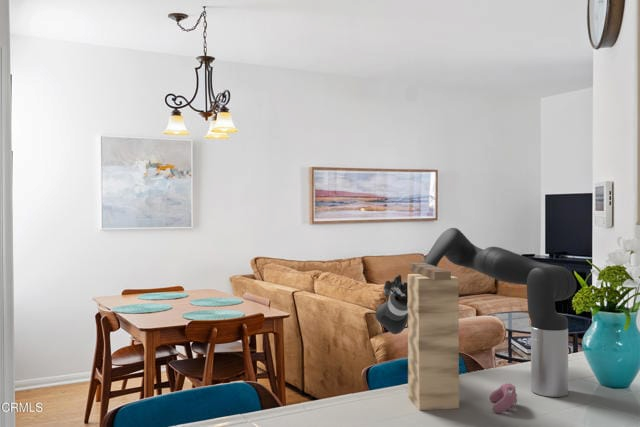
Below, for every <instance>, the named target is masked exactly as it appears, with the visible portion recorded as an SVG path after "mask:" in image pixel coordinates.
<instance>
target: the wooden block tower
mask: <svg viewBox="0 0 640 427" xmlns="http://www.w3.org/2000/svg"><path fill="white" fill-rule="evenodd" d="M407 283H408V303H407V307H408V322H407V388H408V389H407V390H408V392H407V394H408V396H407V397H408V399H409V400H410V401H411V403H413V405H414V406H415V407H416V408H417V409H418V410H419V411H427V410H428V411H430V410H431V411H433V410H449V409H450V410H451V409H460V366H459V365H460V364H459V363H460V362H459V361H460V351H459V349H460V342H459V341H460V340H459V339H460V338H459V337H460V334H459V333H460V332H459V331H460V330H459V327H460V325H459V324H460V322H459V320H460V318H459V317H460V316H459V313H460V308H459V307H460V306H459V298H460V297H459V294H460V293H459V277H457V276H453V275H451V280H433V279H431V278H428V277H426V276H423V275H420V274H415V273H408V274H407Z"/></svg>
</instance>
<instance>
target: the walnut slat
mask: <svg viewBox="0 0 640 427" xmlns="http://www.w3.org/2000/svg"><path fill="white" fill-rule="evenodd" d="M408 266H409V268H408V270H409V271H410V272H413V273H414V274H415V273H418V274H420V275H423V276H426V277H428V278H431V279H433V280H451V276H452V271H451V270H449V269H445V268H441V267H438V266H437V267H436V266H433V265H430V264H426V263H423V262H409V265H408Z"/></svg>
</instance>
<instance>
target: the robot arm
mask: <svg viewBox="0 0 640 427" xmlns="http://www.w3.org/2000/svg"><path fill="white" fill-rule="evenodd" d="M444 257H445V258H446V259H447V260H448V261H449V262H450V263H451V264H453V265H456V266H460V267H462V268H463V267H464V268H468V269H471V270H475V271H477V272H479V273H481V274H483V275H485V276H488V277H489V278H492V279H494V280H496V281H499V282H503V283H508V284H514V285H525V286H526V298H527V299H526V302H527V313H528V316H529V320H530V390H531V392H532V393H534V394H535V395H540V396H545V397H550V398H551V397H552V398H553V397H555V398H559V397H565V396H568V394H569V319H568V317H567V316H565V315H563V314H560V313H559V312H557V310H556V304H555V302H558V301H564V300H567V299H569V298H571V297H572V296H573V295H574V294H575V292H576V290H577V280H576V278H575V277H574V274H573V273H572V272H571V271H570V269H568V268H566V267H564V266H561V265H555V264H549V263H546V262H542V261H541V262H540V261H537V260H533V259H531V258H529V257H526V256H524V255H521V254H518V253H515V252H513V251H511V250H508V249H506V248H502V247H498V246H488V247H486V248H483V249H482V248H480V247H479V246H477V245H474V244H473V243H472V242H471V241H470V240H469V239H468V238H467V237H466V235H465V234H464V233H462V231H461V230H460V229H458V228H456V227H450V228H448V229H446V230H444V231H443V232H442V233H441V234H440V235H439V237H437V239H436V240H435V242H434V244H433V245H432V247H431V248H430V250H429V251H428V252H427V254H426V256H425V258H424V259H423V261H422V263H426V264H430V265H433V266H436V267H438V265H439V263H440V262H441V260H442V259H443V258H444ZM414 274H418V273H415V272H414ZM402 280H403V279H402V276H401V274H398V275H397V276H396V277H394V279H392V281H390V280H386V281H385V283H384V285H383V294H384V297H385V298H386V297H389V298H388V300H387V301H386V302H384V303H382V304H380V305H379V306H378V307H377V309H376V310H375V312H374V314H375V315H374V317H375V319H376V321H377V322H378V323H379V324H380V325H382V327H384V328H385V329H386V330H387V331H388V332H390V333H391V334H393V335H398V334H401V333H402V332H403V331H404V330H405V329H406V328H405V327H406V326H407V325H408V307H407V303H408V282H404V281H402Z"/></svg>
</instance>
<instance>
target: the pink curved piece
mask: <svg viewBox="0 0 640 427" xmlns="http://www.w3.org/2000/svg"><path fill="white" fill-rule="evenodd" d="M516 389H517V388H516V386H515V385H514V384H512V383H507V382H506V381H505V383H503V384H502V385H500V386H499V388H497V389H496V390H494V391H493V392H492V393H491V394H490V396H489V401H490V402H492V403H494V404H493V405H492V412H493V413H495V414H502V413H503V412H506V411H508V410H509V409H510V408H512V407H513V405H514V404H515V405H517V403H518V399H517V397H518V394H517V393H516Z"/></svg>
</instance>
